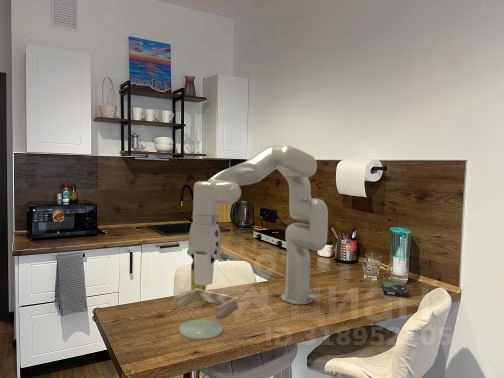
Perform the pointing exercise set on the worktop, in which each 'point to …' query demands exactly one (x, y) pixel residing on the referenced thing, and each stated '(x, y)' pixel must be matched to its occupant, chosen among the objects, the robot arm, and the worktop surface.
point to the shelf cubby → (223, 300)
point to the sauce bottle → (193, 285)
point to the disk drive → (395, 289)
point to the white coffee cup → (203, 269)
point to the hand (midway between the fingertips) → (203, 275)
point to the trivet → (201, 329)
